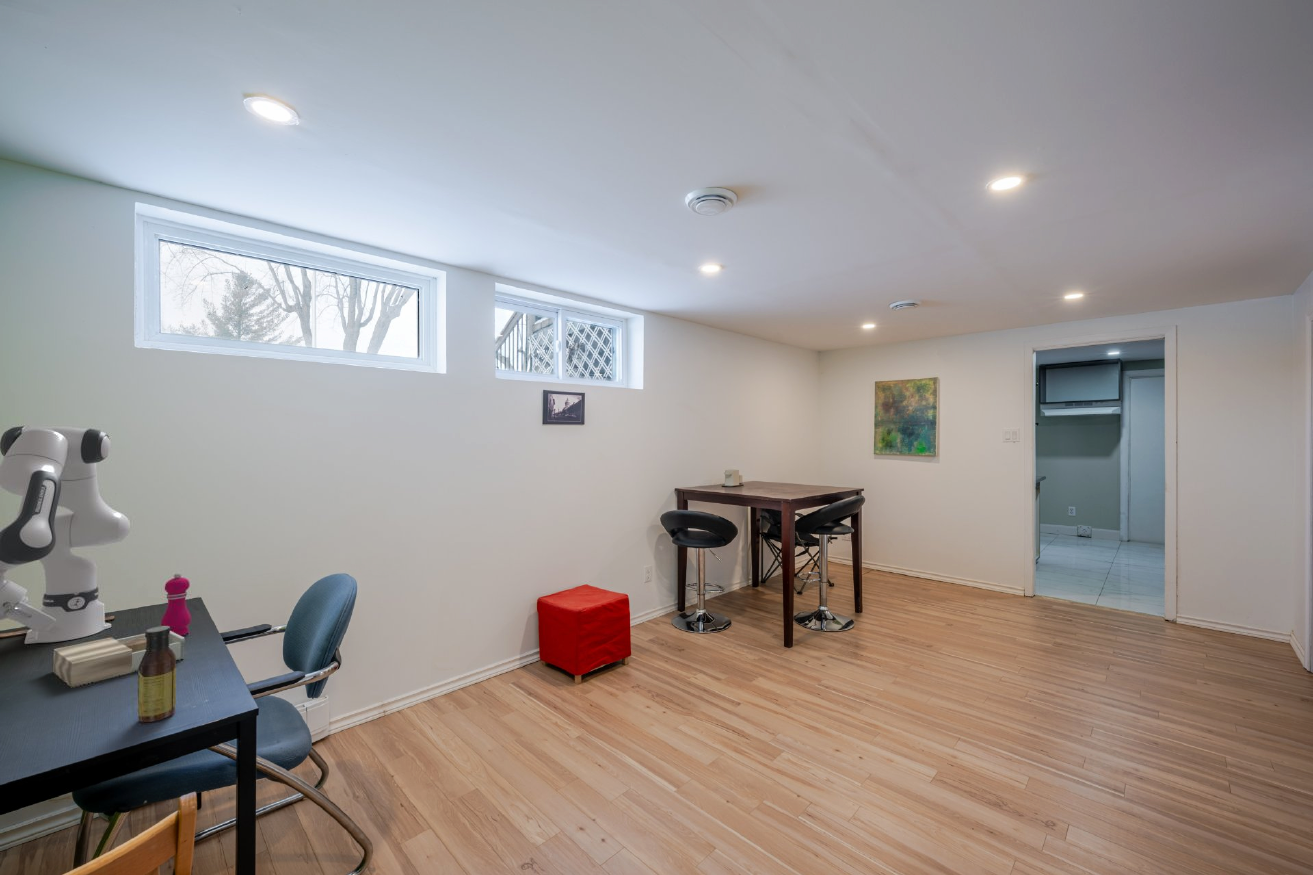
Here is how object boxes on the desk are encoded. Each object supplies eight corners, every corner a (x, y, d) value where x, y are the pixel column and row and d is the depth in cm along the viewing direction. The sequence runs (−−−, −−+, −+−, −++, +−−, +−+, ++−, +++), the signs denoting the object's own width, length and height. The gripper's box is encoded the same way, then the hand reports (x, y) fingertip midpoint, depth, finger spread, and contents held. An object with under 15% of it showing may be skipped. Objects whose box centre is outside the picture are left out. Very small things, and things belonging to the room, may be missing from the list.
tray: (110, 658, 152) (111, 637, 152) (161, 646, 161) (161, 626, 161) (131, 672, 142) (132, 650, 142) (184, 659, 151) (184, 637, 152)
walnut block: (120, 643, 148) (158, 634, 155) (119, 661, 148) (157, 651, 155) (126, 646, 146) (164, 637, 153) (125, 664, 146) (163, 655, 153)
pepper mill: (172, 640, 166) (174, 576, 167) (154, 638, 168) (156, 574, 168) (196, 632, 174) (198, 571, 174) (178, 630, 175) (180, 569, 176)
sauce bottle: (153, 710, 121) (157, 623, 122) (183, 710, 122) (186, 622, 123) (127, 725, 115) (131, 633, 116) (158, 724, 115) (162, 632, 116)
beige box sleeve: (53, 671, 142) (53, 649, 142) (110, 658, 152) (111, 637, 152) (71, 688, 133) (72, 663, 133) (131, 672, 142) (132, 650, 142)
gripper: (26, 595, 126) (83, 626, 134) (3, 585, 136) (57, 614, 144) (-4, 619, 122) (56, 649, 130) (-26, 607, 132) (31, 636, 140)
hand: (56, 631), depth 137 cm, fingers closed
